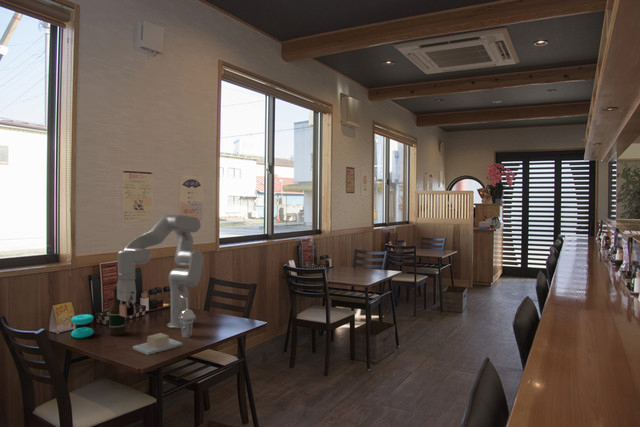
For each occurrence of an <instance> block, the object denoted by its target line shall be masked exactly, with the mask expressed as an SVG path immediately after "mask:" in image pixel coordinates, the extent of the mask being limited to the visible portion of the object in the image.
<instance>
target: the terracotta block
mask: <svg viewBox="0 0 640 427" xmlns="http://www.w3.org/2000/svg"><path fill="white" fill-rule="evenodd" d="M130 303H131V302H129V304H130ZM135 304H136V303H135ZM135 304H134V315H131V316H135V315H136V305H135ZM127 307H128V306H127V304H122V305H119V309H120V316H123V317H126V318H128V317H129V316H127ZM131 316H130V317H131Z"/></svg>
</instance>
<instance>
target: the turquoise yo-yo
mask: <svg viewBox="0 0 640 427" xmlns="http://www.w3.org/2000/svg"><path fill="white" fill-rule="evenodd" d="M94 317H95V316H93V315H92V314H88V313H86V314H85V313H84V314H78V315H75V316H72V318H71V323H72V324H74V325H78V326H79V325H87V324H90V323H92V322H93V321H94ZM94 332H95V331H94V329H93V328H92V327H87V326H83V327H78V328H75V329H74V330H72V332H71V336H72V338H75V339H83V338H88V337H91V336H93V334H94Z"/></svg>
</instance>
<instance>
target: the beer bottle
mask: <svg viewBox="0 0 640 427" xmlns="http://www.w3.org/2000/svg"><path fill="white" fill-rule="evenodd" d="M112 290H113V300H112V303H111V306H110V308H109V310H108V333H109V335H110V336H113V337H114V336H115V337H118V336H123V335H125V334H126V328H127V327H126V321H127V320H126V319H127V317H123V316H120V309H119V305H120V300H118V299H117V286H116V287H114V288H113V289H112Z"/></svg>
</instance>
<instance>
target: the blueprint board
mask: <svg viewBox="0 0 640 427" xmlns="http://www.w3.org/2000/svg"><path fill="white" fill-rule="evenodd" d="M183 345H184V343H183V342H181V341H180V340H176V339H173V338H170V335H168V334H165V333H162V332H160V333H156V334H151V335H147V336H146V342H144V343H141V344H135V345H132V350H134V351H137V352H140V353H142V354H144V355H147V356H149V355H152V354H156V352H157V353H161V352H164V351H167V350H168V351H169V350H170V349H175V348H178V346H179V347H183Z"/></svg>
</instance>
